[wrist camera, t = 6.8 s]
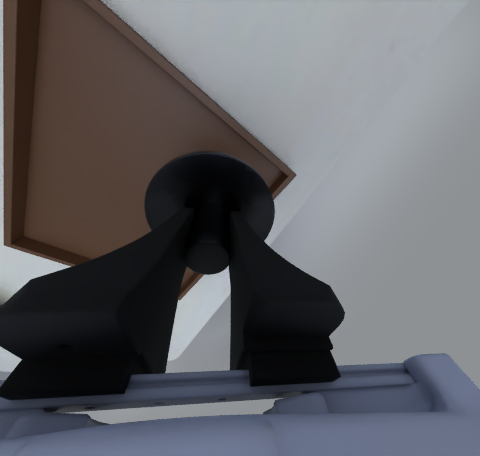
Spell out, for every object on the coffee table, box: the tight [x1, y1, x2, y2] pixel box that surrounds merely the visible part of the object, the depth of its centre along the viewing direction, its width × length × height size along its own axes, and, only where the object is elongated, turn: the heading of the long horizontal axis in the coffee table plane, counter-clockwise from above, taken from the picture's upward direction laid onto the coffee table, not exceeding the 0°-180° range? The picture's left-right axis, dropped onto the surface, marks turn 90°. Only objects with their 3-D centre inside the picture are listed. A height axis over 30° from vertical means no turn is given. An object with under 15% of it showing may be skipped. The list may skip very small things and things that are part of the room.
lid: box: [144, 151, 275, 275], centre depth 10 cm, size 8×8×4 cm
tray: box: [3, 0, 296, 300], centre depth 18 cm, size 21×25×2 cm
